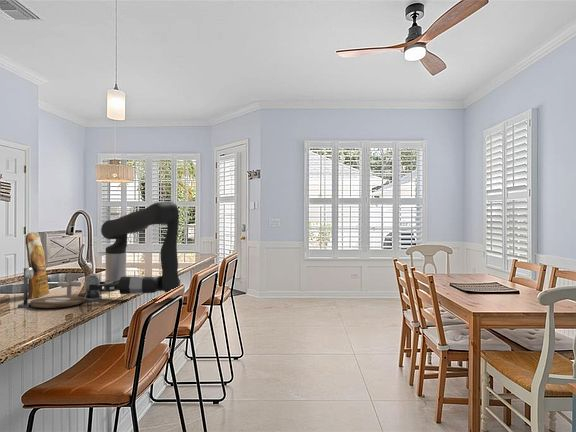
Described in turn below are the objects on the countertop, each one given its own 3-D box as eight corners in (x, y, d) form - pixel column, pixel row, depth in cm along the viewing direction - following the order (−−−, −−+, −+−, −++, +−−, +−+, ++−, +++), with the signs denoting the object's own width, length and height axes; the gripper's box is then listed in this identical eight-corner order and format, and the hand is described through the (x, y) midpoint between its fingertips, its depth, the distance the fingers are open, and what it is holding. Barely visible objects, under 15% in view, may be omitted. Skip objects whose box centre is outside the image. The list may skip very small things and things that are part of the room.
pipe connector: (86, 293, 204) (86, 271, 204) (73, 297, 194) (73, 274, 194) (65, 293, 205) (65, 271, 205) (51, 297, 195) (51, 274, 195)
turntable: (41, 300, 187) (41, 295, 187) (89, 299, 190) (89, 295, 190) (21, 310, 168) (21, 305, 168) (75, 309, 171) (75, 304, 171)
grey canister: (86, 298, 193) (86, 273, 193) (103, 298, 194) (103, 272, 194) (81, 301, 186) (81, 275, 185) (99, 301, 187) (99, 275, 187)
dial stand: (22, 305, 177) (22, 267, 177) (33, 305, 178) (33, 267, 178) (17, 307, 173) (17, 268, 173) (28, 307, 174) (28, 268, 173)
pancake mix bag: (19, 299, 189) (19, 233, 189) (37, 291, 208) (38, 231, 208) (36, 299, 190) (36, 233, 190) (53, 291, 209) (53, 231, 209)
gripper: (135, 274, 199) (96, 274, 197) (128, 278, 185) (87, 279, 183) (134, 291, 199) (96, 291, 197) (128, 297, 185) (87, 297, 183)
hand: (92, 285), depth 190 cm, fingers open, 8 cm apart
